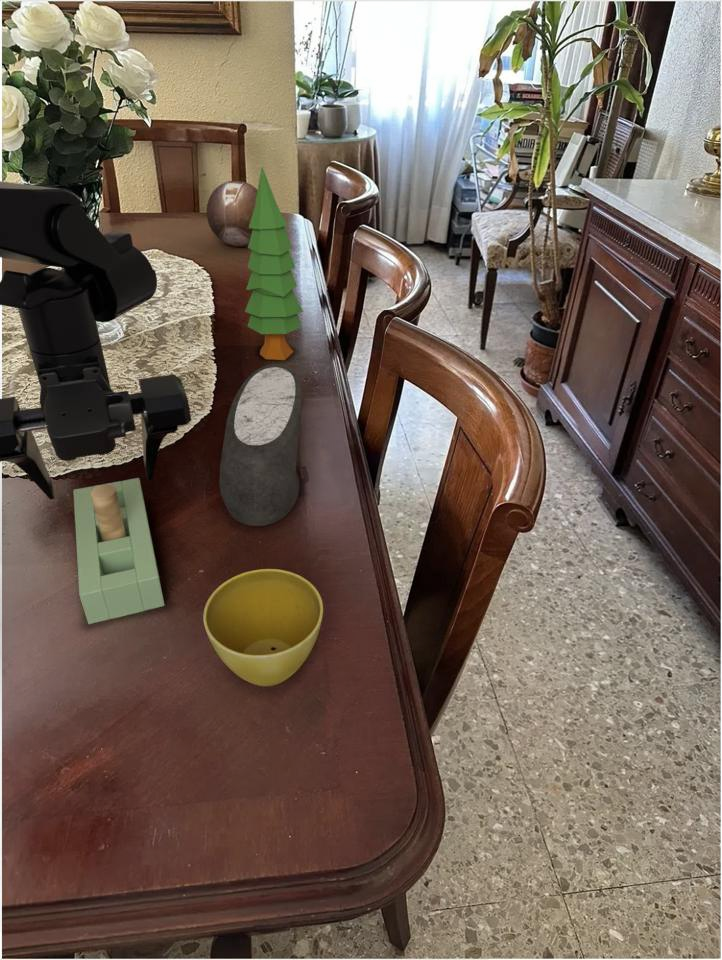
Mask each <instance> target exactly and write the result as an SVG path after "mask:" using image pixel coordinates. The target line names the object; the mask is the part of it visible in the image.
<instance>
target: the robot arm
mask: <svg viewBox="0 0 722 960" xmlns="http://www.w3.org/2000/svg"><path fill="white" fill-rule="evenodd" d="M0 258H2V259H6V260H12V261H18V262H19V261H20V262H24V263H32V264H37V265H43V266H49V267H41V268H38V269H36V270H34V271H31V272H28V273H26V272H19V271H13V270H8V269H7V270H4V271H3V275H2V278H1V280H0V306H4V307H8V308H9V307H10V308H15V309H17V310H18V313H19V318H20V321H21V323H22V328H23V331H24V335H25V338H26V341H27V345H28V348H29V351H30V356H31V359H32V362H33V365H34V369H35V372H36V373H35V374H36V377H37V379H38V383H39V387H40V392H39V407H31V408H25V409H21V407H20V403H19V400H18V399H17V397H15V396H10V397H3V398H0V462H7V463H11V464H14V465H16V466H17V467H18V468H19V469H20V470H21V471H23V472H24V473H25V474H26V475H27V476H28V477H29V478H30V479H31V480H32V482H34V484H35V485H36V486H37V487H38V489H40V490H41V491H42V493H44V494H45V496H46V497H47V498H48V499H49V500H54V499H55V490H54V487H53V486H54V485H53V482H52V478H51V476H50V473H49V471H48V468H47V466H46V463H45V461H44V458H43V456H42V454H41V451H40V449H39V446H38V443H37V441H36V439H35V436H34V434H33V431H38V430H39V431H40V430H46V431H47V435H48V437H49V440H50V443H51V445H52V448H53V450H54V453H55V456H56V457H57V458H58V459H59V460H60V461H63V462H68V461H74V460H76V459H78V458H84V457H89V456H95V455H99V456H104V455H108V454H111V453H113V451H115V449H116V443H117V442H116V439H120V438H126V437H127V433H128V432H134V431H136V430H137V427H136V423H135V418H134V417H135V415H140V424H141V437H142V439H141V441H142V452H143V453H142V455H143V465H144V469H145V475H146V478H147V482H151V481H153V477H154V473H155V469H156V463H157V459H158V454H159V451H160V447H161V445H162V443H163V440H164V438H166V436H168V435H169V434H173V433H176V432H177V431H178V429H179V426H185V425H187V424H189V423H190V422H191V421H192V415H191V409H190V403H189V399H188V396H187V395H188V394H187V393H186V390H185V387H184V385H183V381H182V379H181V378H180V377H178V376H177V375H176V374H167V375H166V374H165V375H159V376H152V377H145V378H138V384H139V389H140V390H139V391H140V392H136V393H135V392H134V393H129V391H128V390H123V391H116V392H114V389H112V387H111V382H110V378H109V372H108V369H107V364H106V360H105V355H104V351H103V347H102V341H101V337H100V332H99V328H98V324H97V322H98V323H109V322H111V321H114V320H115V319H117V318H119V317H121V316H123V315H125V314H127V313H128V312H130V311H132V310H134V309H135V308H137V307H139V306H141V305H142V304H144V303H146V302H148V301H150V300H151V299H152V298H154V296H155V294H156V292H157V287H158V277H157V276H158V275H157V272H156V270H154V268H153V266H152V264H151V262H150V260H149V259H148V257H147V256H146V255H145V254H144V253H143V252H142V251H141V250H139V248H137V247H135V246H134V244H133V238H132V234H131V233H129V232H123V231H115V230H112V231H109V232H106V233H105V234H103V232H102V231H101V230H100V229H99V228H98V227H97V226H96V224H95V223H94V222H93V220H92V219H91V218H90V217H89V216H88V214H87V213H86V212H85V210H84V207H83V206H82V201H81V199H80V197H79V196H78V195H77V194H76V193H74V192H73V191H70V190H68V189H65V188H58V187H50V186H42V185H41V186H40V185H34V184H26V183H16V182H8V181H1V180H0ZM53 267H55V268H53ZM57 268H61V269H57Z"/></svg>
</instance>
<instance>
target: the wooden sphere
mask: <svg viewBox="0 0 722 960" xmlns="http://www.w3.org/2000/svg"><path fill="white" fill-rule="evenodd" d="M257 191H258V188H256V187H255V186H254V185H252V184H250V183H248V182H245V181H242V180H229V181H225V182H222V183H221V184H220V185H218V186H217V187H216V188H215V189H213V191H212V193H211V194H210V196H209V197H208V200H207V203H206V220H207V223H208V225H209V228H210V229H211V231H212V233H213V234H214V236H215V237H217V238H218V239H219V241H221V242H223V243H225V244H227V245H228V246H232V247H237V248H243V247H248V245H249V241H250V238H251V234H252V231H253V228H249V225H250V221H251V218H252V215H253V211H254V208H255V203H256V197H257Z"/></svg>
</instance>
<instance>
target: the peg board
mask: <svg viewBox="0 0 722 960" xmlns="http://www.w3.org/2000/svg"><path fill="white" fill-rule="evenodd" d="M100 485H112V486H114V487H115V489H116V493H117V497H118V501H119V506H120V510H121V514H122V518H123V522H124V527H125V531H126V535H127V537H123V538H119V539H114V540H109V541H104V542H103V539H102V536H101V532H100V528H99V524H98V521H97V517H96V513H95V509H94V506H93V502H92V498H91V491H92V490H93V489H94V488H95V487H97V486H100ZM142 489H143V488H142V484H141V480H140V477H136V478H131V479H130V478H129V479H125V480H119V481H113V482H108V483H103V484H102V483H101V484H98V485H97V484H96V485H93V486H87V487H81V488H76V489H75V488H74V489H73V506H74V507H73V508H74V523H75V524H74V525H75V541H76V543H75V544H76V562H77V578H78V596H79V599H80V602H81V605H82V609H83V611H84V614H85V618H86V621H87V624H88V625H92V624H96V623H100V622H104V621H108V620H113V619H117V618H121V617H126V616H129V615H133V614H138V613H142V612H145V611H146V612H147V611H149V610H153V609H157V608H161V607H165V606H166V605H165V600H164V594H163V590H162V584H161V580H160V574H159V568H158V565H157V564H158V563H157V559H156V553H155V550H154V543H153V538H152V534H151V529H150V528H151V527H150V524H149V518H148V514H147V513H148V512H147V508H146V504H145V499H144V494H143V493H144V492H143V490H142Z"/></svg>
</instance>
